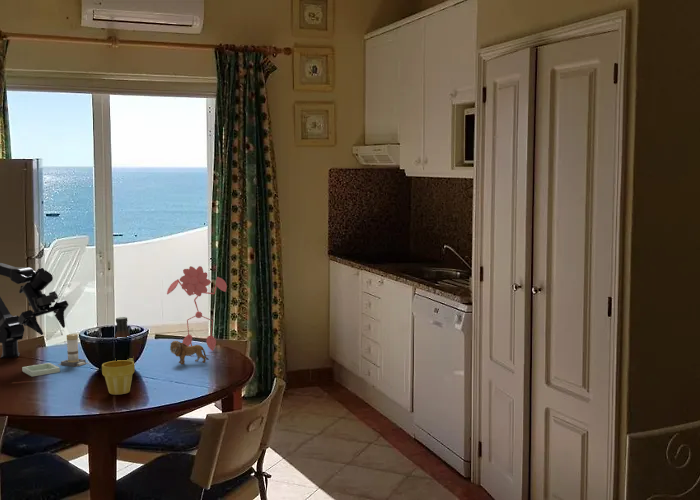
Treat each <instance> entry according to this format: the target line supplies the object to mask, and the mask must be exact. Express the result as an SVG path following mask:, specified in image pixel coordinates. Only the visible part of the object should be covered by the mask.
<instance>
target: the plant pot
mask: <svg viewBox="0 0 700 500" xmlns="http://www.w3.org/2000/svg"><path fill="white" fill-rule="evenodd" d="M135 368H136V366H135V361H134V362H133V361H129V360H117V361H116V360H112V361H107V362H103V363H102V364H101V373H102V376H103V377H104V379H105V384H106V387H107V390H108V393H109V394H110V395H112V396H113V395H114V396H117V395H118V396H119V395H125V394H128V393H130V392H131V385H132V380H133V374H134V373H135V370H136V369H135Z"/></svg>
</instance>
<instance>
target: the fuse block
mask: <svg viewBox="0 0 700 500" xmlns="http://www.w3.org/2000/svg"><path fill="white" fill-rule="evenodd" d="M88 364H89V362H87V361H86V359H84V358H79V361H77V362H74V363H72V362H68V359H65V360H61V361H60V363H58V364H57V366H64V367H65V366H66V367H71V368H72V367H73V368H77V367H80V366H83V365H88Z"/></svg>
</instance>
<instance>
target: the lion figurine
mask: <svg viewBox="0 0 700 500" xmlns="http://www.w3.org/2000/svg"><path fill="white" fill-rule="evenodd" d="M169 350H170V352H171V354H174V355H175V356H176V357H177V358H179V361H178V364H180V365H184V364H185V362H186V361H185V359H186V357H192V356H194V355H195V354H196V355H195V356H196V357H197V359H195V360H194V362H198V361H199V360H200V359H202V361H201V363H204V364H205V363H206V362H207V361H209V360H210V358H208V356H206V355H207V354H206V351H205V349H204V347H203V346H202V345H200V344H195V345H192V346H191V345H189V346H186V345H185V344H184V343H182V342H180V341H178V340H173V341H171V342H170V349H169ZM206 360H207V361H206Z"/></svg>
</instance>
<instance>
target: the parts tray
mask: <svg viewBox="0 0 700 500" xmlns="http://www.w3.org/2000/svg"><path fill="white" fill-rule="evenodd" d="M60 368H61V367H59V366H58V365H55V364H53V363H51V362H46V363H40V364H33V365H28V366H22V367H21V369H22V372H23V373H24V374H26V375H28V376H29V377H37V376H43V375H49V374H57V373H60V372H61V369H60Z"/></svg>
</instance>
